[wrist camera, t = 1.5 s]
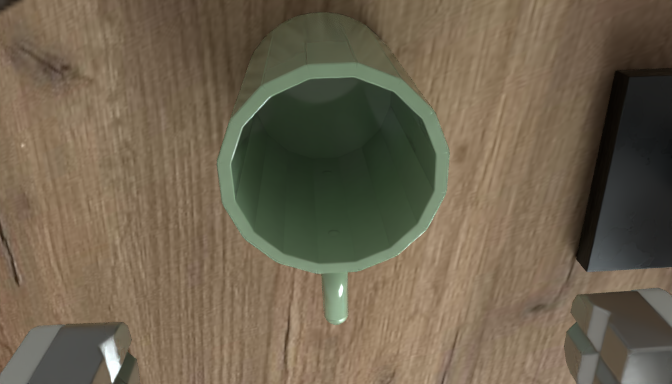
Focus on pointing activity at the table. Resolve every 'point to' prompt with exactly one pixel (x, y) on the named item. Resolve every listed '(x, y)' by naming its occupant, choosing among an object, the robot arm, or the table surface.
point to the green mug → (331, 153)
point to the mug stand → (632, 178)
